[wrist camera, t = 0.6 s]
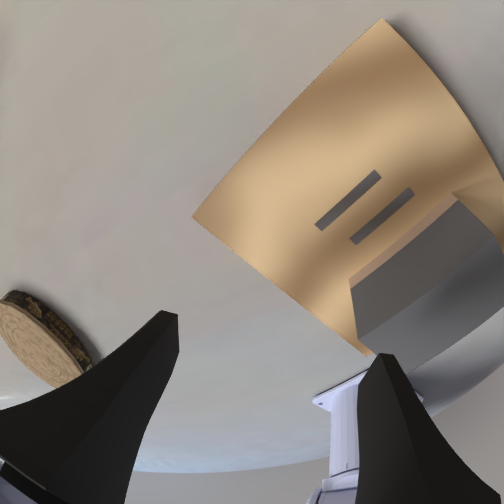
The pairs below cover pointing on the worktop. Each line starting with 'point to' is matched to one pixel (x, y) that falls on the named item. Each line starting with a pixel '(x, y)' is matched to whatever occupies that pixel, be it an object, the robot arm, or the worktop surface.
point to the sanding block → (429, 286)
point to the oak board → (352, 176)
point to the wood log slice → (42, 339)
